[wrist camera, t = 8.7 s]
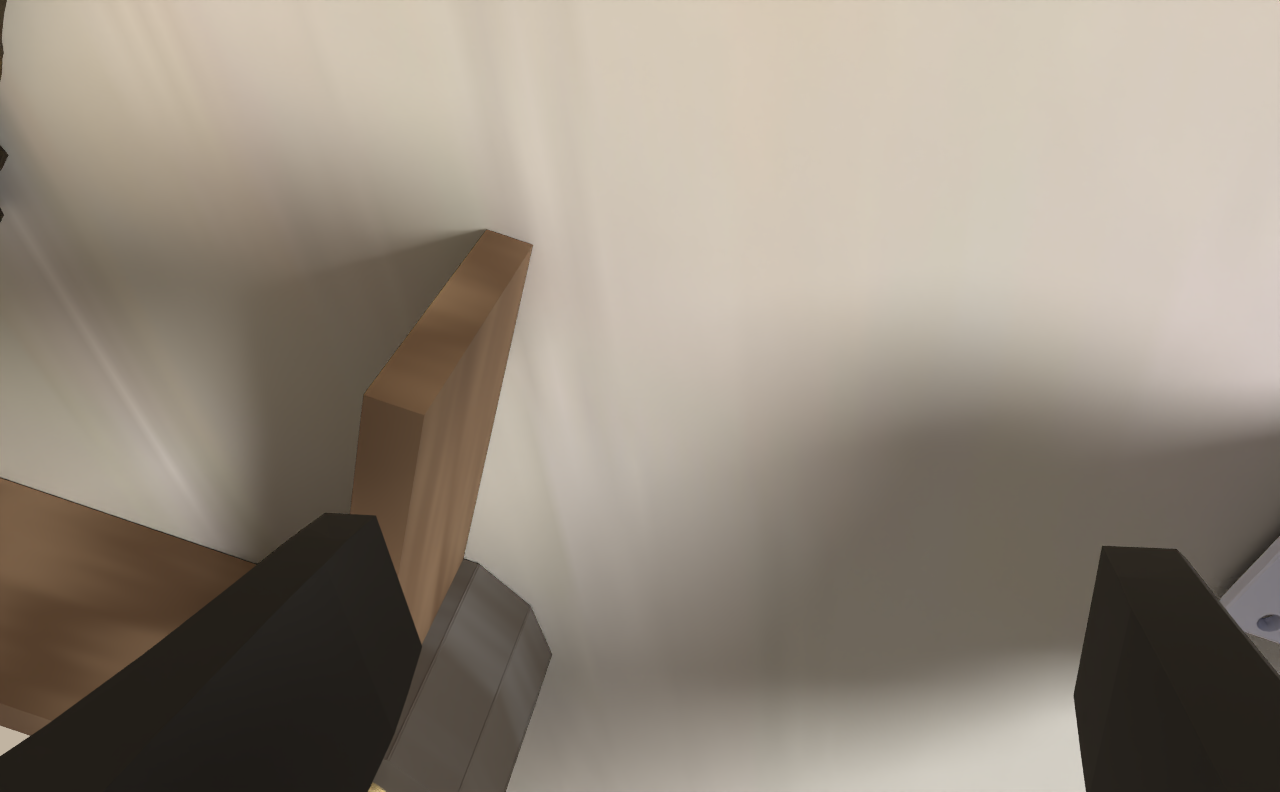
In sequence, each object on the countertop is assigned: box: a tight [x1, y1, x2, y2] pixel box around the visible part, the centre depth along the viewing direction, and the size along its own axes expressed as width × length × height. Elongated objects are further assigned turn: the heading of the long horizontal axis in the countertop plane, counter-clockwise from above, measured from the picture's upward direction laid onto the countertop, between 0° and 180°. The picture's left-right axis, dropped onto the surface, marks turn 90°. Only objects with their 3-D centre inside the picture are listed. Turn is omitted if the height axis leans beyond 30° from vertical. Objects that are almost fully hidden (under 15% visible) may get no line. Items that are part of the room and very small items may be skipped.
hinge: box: [0, 230, 552, 792], centre depth 23 cm, size 17×17×6 cm
